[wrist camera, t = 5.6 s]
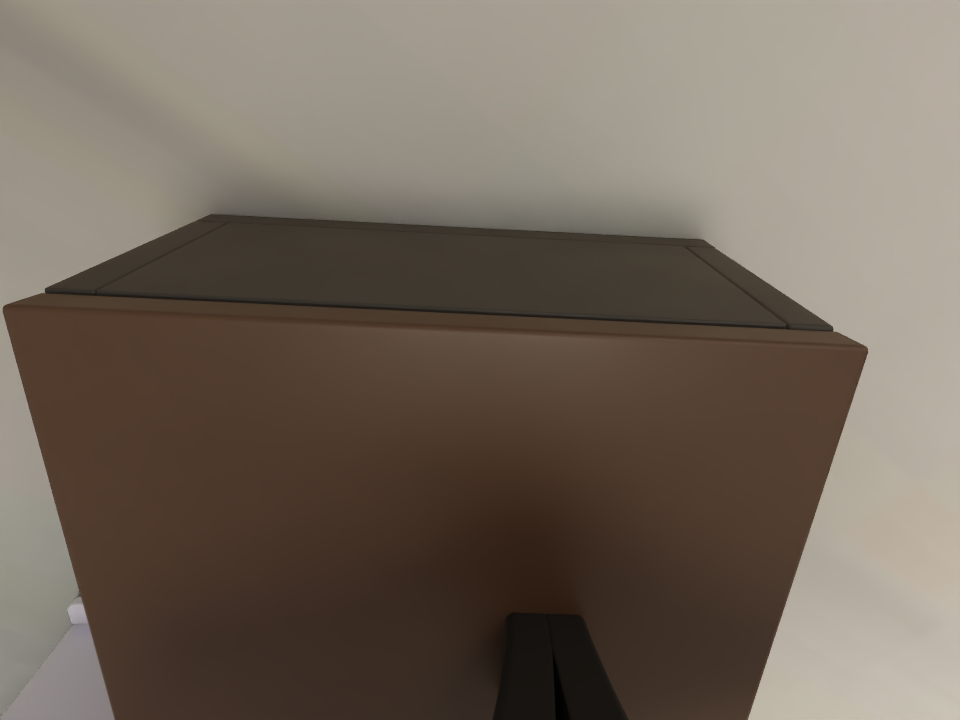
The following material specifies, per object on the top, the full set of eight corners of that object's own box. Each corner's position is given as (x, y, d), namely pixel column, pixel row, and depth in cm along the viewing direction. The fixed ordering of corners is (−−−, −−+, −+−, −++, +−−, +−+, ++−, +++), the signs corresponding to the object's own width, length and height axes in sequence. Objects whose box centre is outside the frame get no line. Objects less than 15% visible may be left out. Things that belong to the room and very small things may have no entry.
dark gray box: (617, 607, 20) (666, 788, 15) (273, 593, 20) (198, 773, 14) (704, 239, 14) (837, 326, 9) (209, 213, 14) (42, 288, 8)
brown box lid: (676, 867, 14) (687, 908, 13) (177, 853, 14) (160, 894, 13) (838, 330, 9) (873, 347, 8) (39, 291, 8) (-4, 304, 8)
